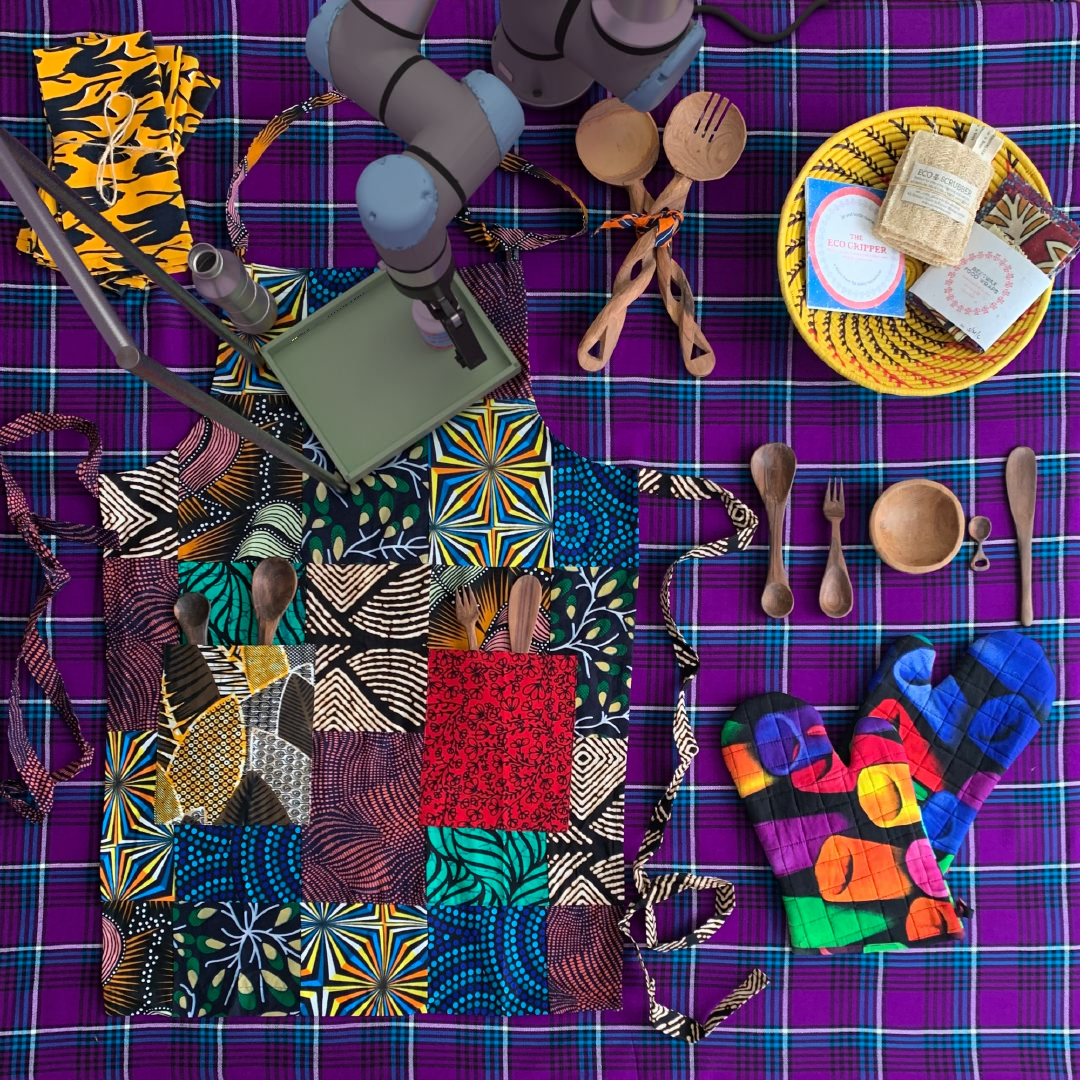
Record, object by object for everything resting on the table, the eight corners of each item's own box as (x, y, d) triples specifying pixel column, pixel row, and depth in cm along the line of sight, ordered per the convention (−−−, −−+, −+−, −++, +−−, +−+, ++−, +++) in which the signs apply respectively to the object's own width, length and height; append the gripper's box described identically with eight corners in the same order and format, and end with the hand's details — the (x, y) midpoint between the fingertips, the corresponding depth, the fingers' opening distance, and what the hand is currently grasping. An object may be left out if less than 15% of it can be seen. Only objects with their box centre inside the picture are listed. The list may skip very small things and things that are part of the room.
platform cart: (431, 241, 125) (313, -124, 63) (523, 373, 123) (492, 131, 62) (251, 361, 124) (-49, 108, 62) (340, 496, 122) (123, 373, 61)
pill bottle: (414, 342, 124) (400, 315, 112) (430, 301, 124) (417, 269, 113) (456, 357, 123) (446, 331, 112) (471, 316, 124) (463, 286, 113)
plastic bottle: (285, 293, 125) (233, 232, 105) (278, 341, 124) (226, 289, 104) (238, 289, 125) (178, 227, 105) (232, 337, 124) (170, 283, 104)
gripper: (325, 183, 100) (365, 259, 121) (452, 367, 98) (470, 411, 119) (383, 145, 100) (412, 227, 121) (510, 329, 98) (517, 380, 119)
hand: (441, 319), depth 120 cm, fingers open, 13 cm apart
